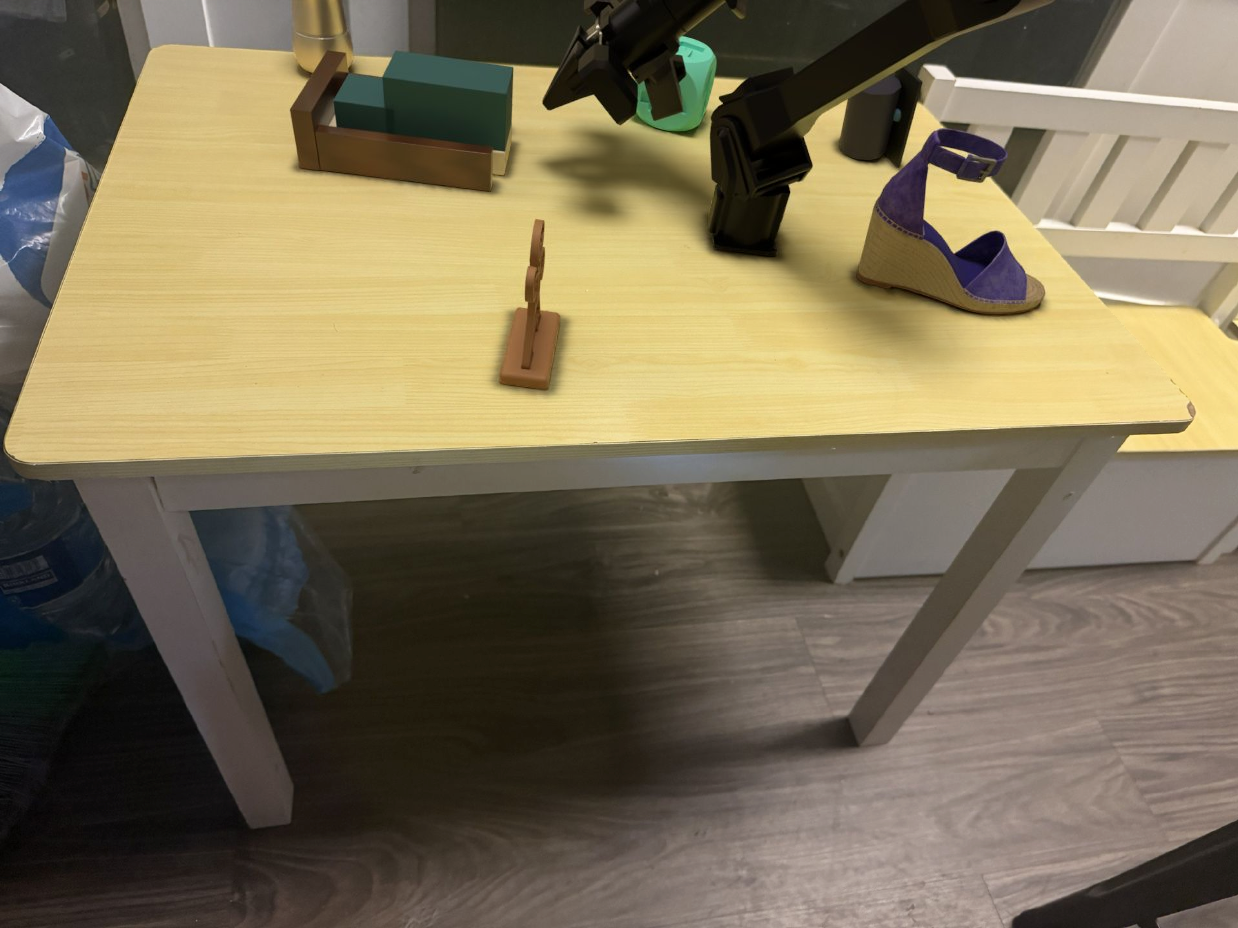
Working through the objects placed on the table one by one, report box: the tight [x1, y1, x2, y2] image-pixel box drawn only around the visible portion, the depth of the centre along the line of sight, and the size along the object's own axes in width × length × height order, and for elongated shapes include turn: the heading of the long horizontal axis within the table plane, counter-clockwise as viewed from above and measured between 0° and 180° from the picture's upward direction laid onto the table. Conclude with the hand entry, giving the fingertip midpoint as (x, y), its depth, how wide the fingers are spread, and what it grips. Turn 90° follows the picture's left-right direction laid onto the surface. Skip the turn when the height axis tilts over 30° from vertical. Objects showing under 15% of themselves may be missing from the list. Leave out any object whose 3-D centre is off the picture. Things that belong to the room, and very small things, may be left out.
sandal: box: [856, 127, 1046, 315], centre depth 77 cm, size 8×20×15 cm, turn 81°
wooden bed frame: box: [289, 50, 494, 192], centre depth 85 cm, size 19×14×6 cm
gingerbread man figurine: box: [499, 218, 561, 390], centre depth 63 cm, size 9×4×12 cm, turn 176°
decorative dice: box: [633, 35, 717, 132], centre depth 97 cm, size 8×8×8 cm
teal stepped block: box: [329, 50, 514, 176], centre depth 84 cm, size 18×7×8 cm, turn 89°
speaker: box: [838, 65, 924, 168], centre depth 97 cm, size 8×6×10 cm
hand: (545, 105), depth 84 cm, fingers closed
